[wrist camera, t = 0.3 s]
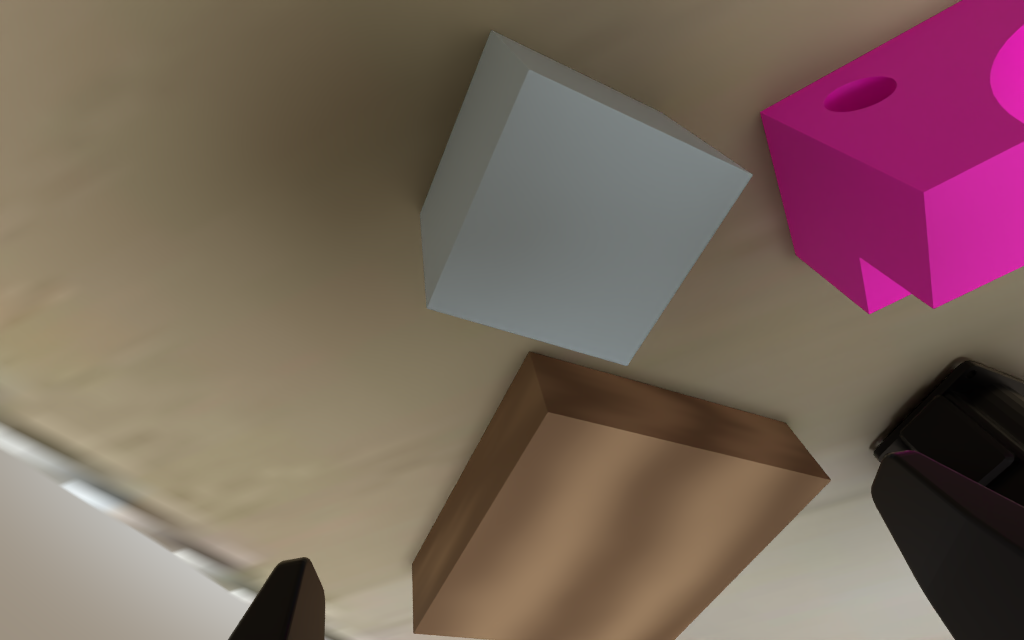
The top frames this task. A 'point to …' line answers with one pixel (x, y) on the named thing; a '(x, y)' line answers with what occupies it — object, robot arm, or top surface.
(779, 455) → the walnut slab
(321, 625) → the robot arm
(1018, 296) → the top surface
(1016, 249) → the toy block
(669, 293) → the slate cube
